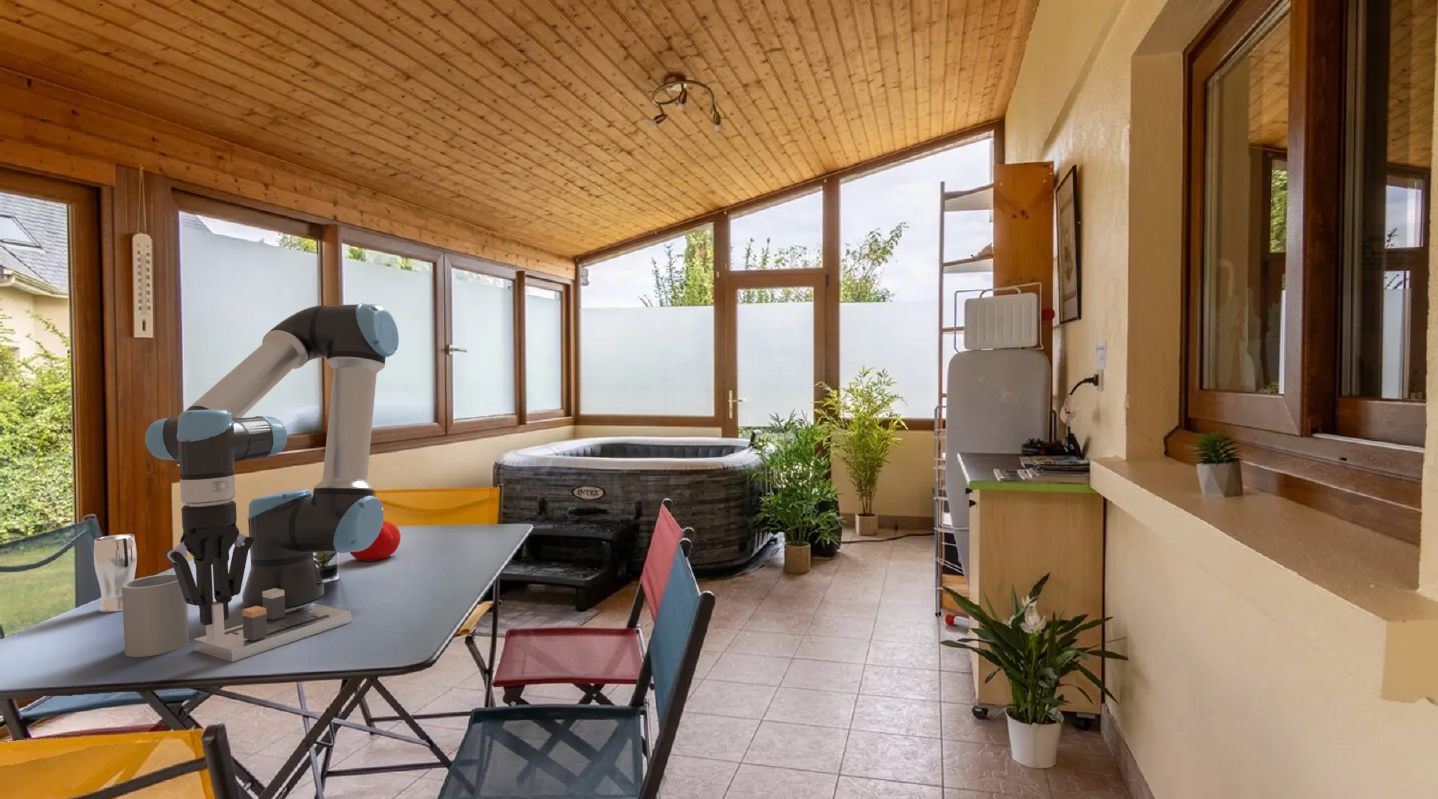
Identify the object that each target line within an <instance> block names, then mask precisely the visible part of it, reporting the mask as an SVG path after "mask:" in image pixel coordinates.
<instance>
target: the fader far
mask: <svg viewBox="0 0 1438 799" xmlns="http://www.w3.org/2000/svg"><path fill="white" fill-rule="evenodd" d="M262 597H263V608H266V616H267V619H271V620H274V619H277V618H281V617H284V616H285V612H286V608H285V596H284V590H281V589H276V588H274V589H270V590H266V591H263V592H262Z"/></svg>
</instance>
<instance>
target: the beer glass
mask: <svg viewBox="0 0 1438 799" xmlns="http://www.w3.org/2000/svg"><path fill="white" fill-rule="evenodd" d="M135 539H136V538H135V534H132V533H124V534H122V533H121V534H113V535H106V536H105V535H104V536H101V537H97V538H95V539H94V540H93V541H94V542H93V544H94V546H93V562H94V563H93V565H94V569H95V570H94V571H95V574H96V578H97V581H98V584H99V588H100V589H99V590H100V604H99V608H98V610H99V612H101V613H115V612H123V604H122V585H123V584H124V583H126V582H128V581H131V580H135V578H136V577H135V576H136V570H137V562H138V560H137V559H138V552H137V545H136V540H135Z"/></svg>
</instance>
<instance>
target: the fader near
mask: <svg viewBox="0 0 1438 799" xmlns="http://www.w3.org/2000/svg"><path fill="white" fill-rule="evenodd" d="M241 614H242V625H243V638H245V639H249V640H253V641H254V640H257V639H260V638H263V637H266V636H267V616H266V608H263V607H259V606H254V607H250V608H243V609H241Z"/></svg>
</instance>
